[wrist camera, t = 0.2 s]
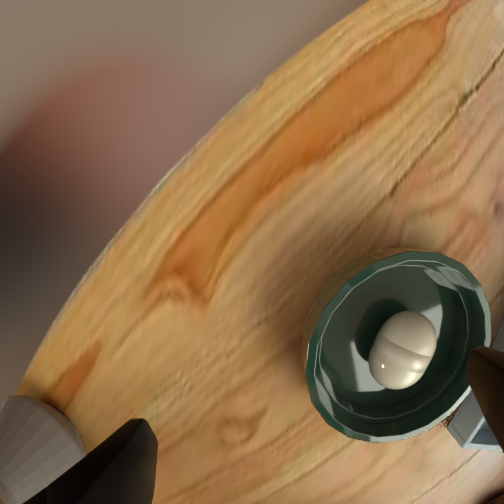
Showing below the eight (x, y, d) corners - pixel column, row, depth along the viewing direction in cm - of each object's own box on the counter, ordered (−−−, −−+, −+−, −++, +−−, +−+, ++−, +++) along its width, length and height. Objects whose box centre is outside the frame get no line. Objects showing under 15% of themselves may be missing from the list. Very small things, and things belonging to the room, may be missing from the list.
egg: (399, 379, 21) (419, 406, 17) (351, 365, 21) (366, 392, 17) (430, 314, 20) (457, 330, 16) (383, 296, 21) (406, 311, 16)
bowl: (416, 426, 22) (432, 452, 18) (273, 388, 22) (272, 417, 18) (486, 282, 20) (515, 291, 16) (344, 218, 21) (359, 216, 17)
